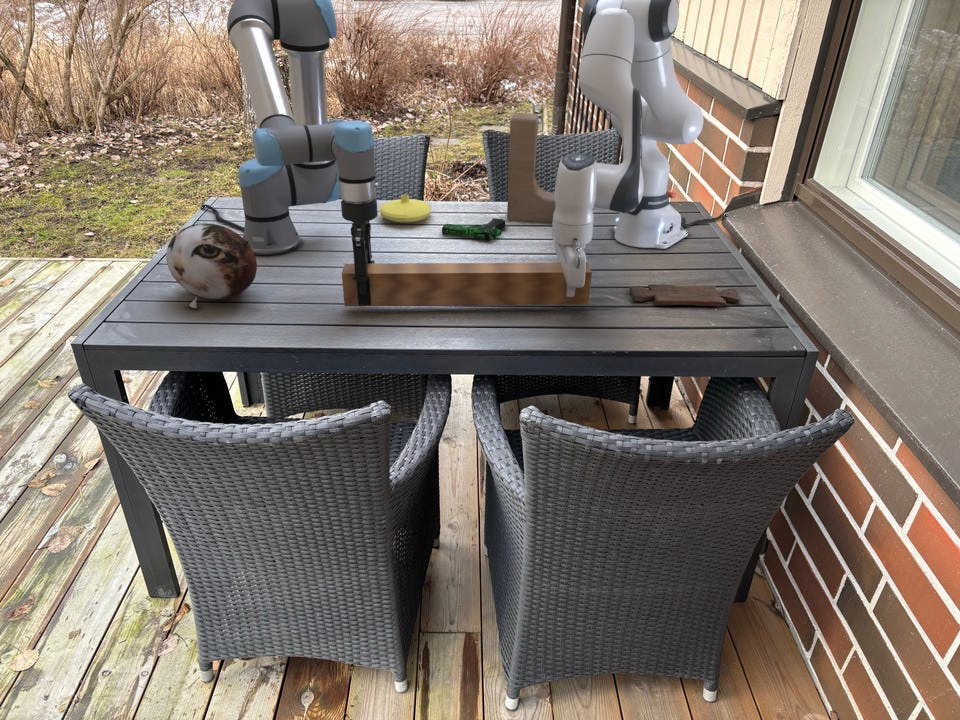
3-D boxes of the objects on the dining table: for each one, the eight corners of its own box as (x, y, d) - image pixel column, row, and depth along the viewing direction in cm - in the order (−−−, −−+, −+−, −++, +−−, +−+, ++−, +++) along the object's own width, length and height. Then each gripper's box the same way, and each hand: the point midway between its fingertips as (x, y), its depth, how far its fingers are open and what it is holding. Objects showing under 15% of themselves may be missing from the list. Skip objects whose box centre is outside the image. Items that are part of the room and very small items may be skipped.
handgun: (511, 219, 210) (493, 234, 198) (511, 228, 211) (492, 244, 199) (461, 212, 215) (440, 226, 203) (461, 221, 217) (440, 236, 204)
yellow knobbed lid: (403, 206, 226) (402, 184, 222) (442, 217, 218) (442, 194, 215) (368, 220, 215) (367, 197, 211) (408, 231, 207) (407, 208, 203)
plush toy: (130, 285, 161) (164, 203, 163) (192, 308, 177) (221, 233, 178) (195, 307, 151) (229, 220, 152) (254, 330, 166) (285, 250, 168)
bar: (344, 306, 159) (341, 273, 155) (347, 295, 164) (344, 263, 160) (588, 304, 162) (592, 272, 158) (584, 294, 167) (587, 262, 163)
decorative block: (556, 223, 215) (563, 120, 199) (506, 220, 216) (510, 118, 201) (557, 215, 221) (564, 114, 206) (509, 212, 223) (512, 112, 207)
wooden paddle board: (744, 309, 167) (732, 291, 176) (746, 303, 166) (734, 285, 175) (634, 305, 167) (627, 287, 176) (635, 299, 167) (628, 281, 175)
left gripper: (373, 213, 142) (379, 317, 154) (379, 185, 158) (385, 281, 170) (335, 213, 142) (344, 317, 154) (345, 185, 158) (353, 281, 170)
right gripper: (595, 249, 147) (589, 309, 154) (579, 215, 165) (574, 270, 172) (564, 249, 147) (560, 309, 154) (551, 215, 164) (548, 270, 172)
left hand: (366, 298), depth 162 cm, fingers closed on bar, 6 cm apart
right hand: (567, 288), depth 163 cm, fingers closed on bar, 5 cm apart
